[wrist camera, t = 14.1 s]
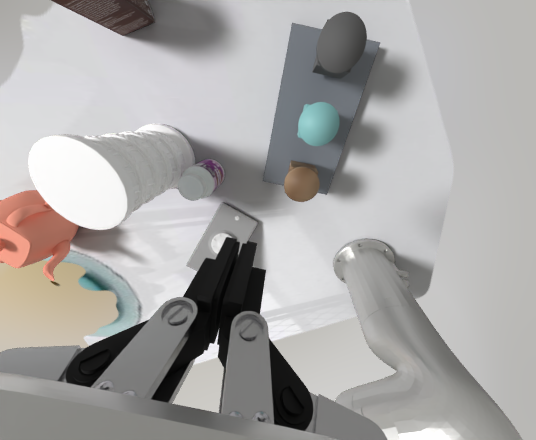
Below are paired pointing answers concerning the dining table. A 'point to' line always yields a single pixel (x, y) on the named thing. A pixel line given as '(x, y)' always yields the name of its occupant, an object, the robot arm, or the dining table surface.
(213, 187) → the pill bottle
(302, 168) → the walnut key
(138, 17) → the box
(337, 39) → the dark grey round-topped block
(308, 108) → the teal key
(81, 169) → the decorative container
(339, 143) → the panel
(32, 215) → the teapot
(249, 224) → the light switch
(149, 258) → the dining table surface
